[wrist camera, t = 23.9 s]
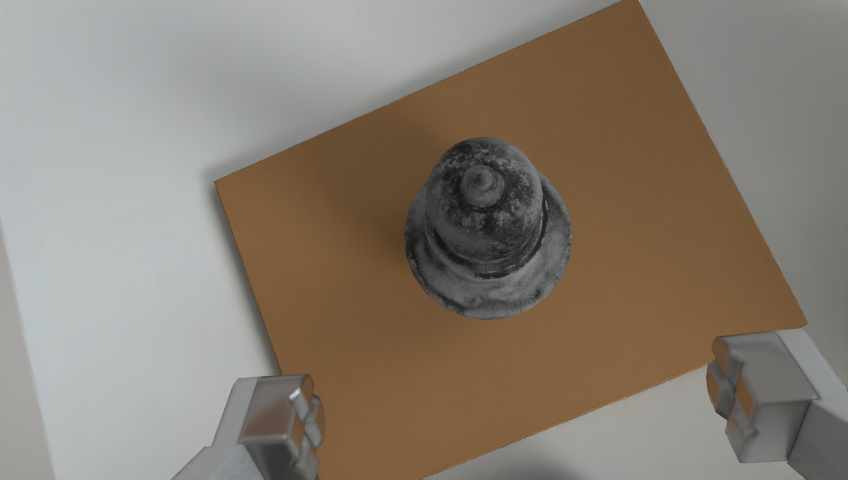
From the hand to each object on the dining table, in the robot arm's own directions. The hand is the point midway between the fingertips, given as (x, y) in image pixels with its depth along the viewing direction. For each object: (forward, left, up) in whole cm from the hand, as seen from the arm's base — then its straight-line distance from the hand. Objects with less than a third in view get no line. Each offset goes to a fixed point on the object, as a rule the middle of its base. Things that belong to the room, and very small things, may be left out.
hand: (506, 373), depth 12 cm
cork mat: (+1, +4, -12) cm, 13 cm away
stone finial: (+1, +4, -12) cm, 12 cm away
